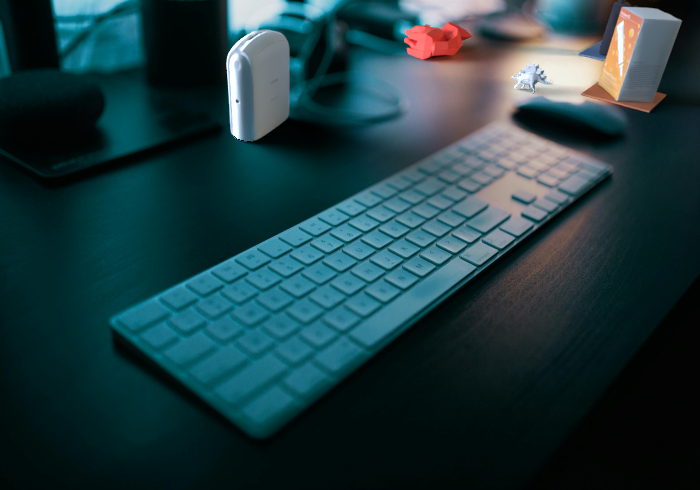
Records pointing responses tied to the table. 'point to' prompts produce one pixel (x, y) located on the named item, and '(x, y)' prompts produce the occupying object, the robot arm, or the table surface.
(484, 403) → the table surface
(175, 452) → the table surface
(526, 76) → the stegosaurus
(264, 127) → the photo printer
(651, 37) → the small box
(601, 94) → the terracotta mat
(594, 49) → the slate mat
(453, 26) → the animal figurine
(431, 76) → the table surface
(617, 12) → the two-way radio
